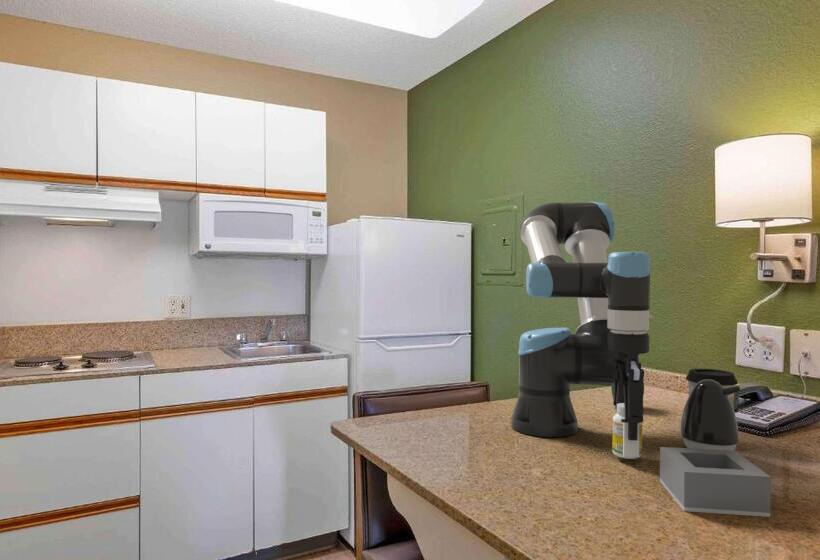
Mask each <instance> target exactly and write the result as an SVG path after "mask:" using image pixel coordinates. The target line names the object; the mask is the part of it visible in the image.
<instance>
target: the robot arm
mask: <svg viewBox="0 0 820 560" xmlns="http://www.w3.org/2000/svg"><path fill="white" fill-rule="evenodd" d="M614 223H615V219H614V214H613V212H612V208H611V207H610V206H609V205H608V204H606V203H604V202H601V201H600V202H599V201H597V202H596V201H588V202H548V203H544V204H542V205H541V204H540V205H538V206H535V208H533V209H532V210H530V211H529V212H528V213H526V215H525V216H524V217H523V219H522V220H521V223H520V226H519V235H520V238H521V240H522V242H523V244H524V245H525V246H526V247H527V251H528V255H529V259H530V262H531V263H528V264H527V267H526V275H525V286H526V292H527V295H528V296H530V297H532V298H543V299H548V298H549V299H551V298H552V299H553V298H557V299H558V298H565V299H566V298H568V299H569V298H571V299H572V298H577V304H578V312H579V321H580V325H579V326H577V328H576V330H575V333H572V331H571V329H570V328H568V327H547V328H545V327H544V328H537V329H533V330H529V331H525V332H523V333H522V334H521V336H520V338H519V344H518V345H519V346H518V352H517V353H518V357H519V359H518V363H519V365H518V368H519V369H518V395H517V399H516V402H515V405H514V408H513V410H512V414H511V416H510V417H511V421H510V423H511V424H510V427H511V428H512V429H513V430H514V431H517V432H519V433H522V434H526V435H528V436H529V435H530V436H535V437H536V436H537V437H545V438H548V437H549V438H560V437H561V438H562V437H568V436H569V437H570V436H572V435H574V434H576V433H577V432H578V428H579V427H578V426H579V425H578V418H577V415H576V412H575V410H574V406H573V402H572V400H571V391H570V390H571V385H583V386H584V385H586V386H588V385H589V386H611V387H612V386H614V400H613V406H615V407H614V409H615V411H616V412H615V415H616V414H618V412H617V404H619V403H624V407H625V419H621V422H623V455H624V456H630V457H639V423H640V422H642V423H643V422H644V395H643V384H644V380H645V379H644V378H645V370H644V368H642V363H641V362H640V354H641V355H644V354H645V355H646V354H647V353H649V352H650V335H649V333H647V332H648V331H649V330H650V320H652V319H653V315H652V314H650V305H651V304H650V300H651V296H650V295H651V273H652V268H651V262H650V261H651V258H650V255H649V253H647V252H645V251H615V252H611V253H609V255H608V258H607V252H606V250H607V249H608V248H609V246H610V244H611V243H612V242H613V240H614V237H615V232H616V231H615V229H616V227H615V224H614ZM560 245H564V250H565V252H566V253H568V254H569V255H571V256H572V257H571V259H572V262H567V261H566V258H565V256H564V253H563V250H562V248H561V246H560ZM639 458H640V457H639Z"/></svg>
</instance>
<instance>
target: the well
mask: <svg viewBox="0 0 820 560" xmlns="http://www.w3.org/2000/svg"><path fill="white" fill-rule="evenodd" d="M659 481H660V483H661V484H662V486H663V487H664V488H665V489H666V491H667V493H669V494H670V496H671V497H672V498H673V499H674V501H675V502H676V504H678V506H679V507H680V508H681V509H682V510H683V512H689V513H691V512H692V513H693V512H694V513H707V514H720V515H734V516H735V515H736V516H752V517H764V518H770V517H771V494H772V493H771V491H772V490H771V485H772V484H771V481H772V477H771V475H769V474H767V473H766V472H765V471H763V470H762V469H760V468H759V467H758V466H757V465H755V464H754V463H752V462H751V461H750V460H748V459H747V458H745V457H744V456H743V455H741V454H740V453H738V452H737V451H736V450H734V451H733V450H713V449H693V448H687V447H669V446H668V447H667V446H659Z"/></svg>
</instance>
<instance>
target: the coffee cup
mask: <svg viewBox="0 0 820 560" xmlns="http://www.w3.org/2000/svg"><path fill="white" fill-rule="evenodd" d="M705 379H711V380H714V381H717V382H718V383H720V384H721V385H722V387H723V388H729V387H734V386H737V385H738V384H739V383H738V379H737V378H736V376H735V373H734V372H731V371H727V370H722V369H713V368H692V369H691V368H690V369H689V371H688V374H687V375H686V376H685V380H686V381H687V383H688V396H689V395H690V393H691V391H692V389H693V387H694V386H695V385H696V384H697V383H698V382H699V381H701V380H705ZM728 397H729V399H730V401H731V403H732V406H733V407H734V403H735V393H733V394H730V395H728Z"/></svg>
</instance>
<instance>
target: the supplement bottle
mask: <svg viewBox="0 0 820 560" xmlns="http://www.w3.org/2000/svg"><path fill="white" fill-rule="evenodd" d="M616 412H618V414H616V413H615V415H613V417H612V439H611V440H612V442H611V443H612V446H611V448H612V449H611V451H612V453H613V454H614V455H615V456H616V457H619V458H622V459H629V460H630V459H631V460H635V459H639V458H641V457H642V454H643V449H642V447H643V422H640V423H639V457H630V456H624V455H623V422H621V419H625V407H624V403H619V404H617V411H616Z"/></svg>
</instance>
